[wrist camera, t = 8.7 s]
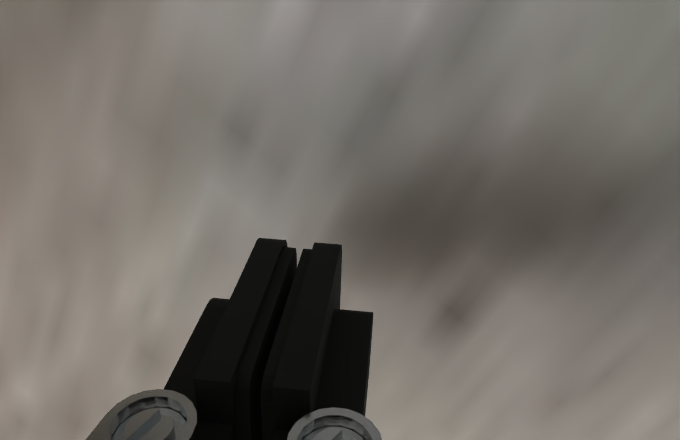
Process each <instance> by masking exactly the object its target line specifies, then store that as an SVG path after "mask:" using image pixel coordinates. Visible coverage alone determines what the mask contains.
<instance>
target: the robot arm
mask: <svg viewBox="0 0 680 440" xmlns="http://www.w3.org/2000/svg"><path fill="white" fill-rule="evenodd" d="M341 263H342V245H338V244H326V243H314V245H313V248H312V249H303V251H302V254H301V257H300V260H299V263H298V267H297V253H296V248H288V247H287V242H286V240H277V239H265V238H258V240H257V242H256V244H255V246H254V248H253V250H252V252H251V255H250V257H249V259H248V261H247V263H246V265H245V268H244V270H243V272H242V274H241V276H240V278H239V281H238V283H237V285H236V287H235V289H234V291H233V294H232V296H231V298H230V299H220V298H212V299H211V300H210V301H209V302H208V304H207V306H206V308H205V310H204V312H203V313H202V315H201V317H200V319H199V321H198V323H197V325H196V327H195V329H194V331H193V333H192V335H191V337H190V339H189V341H188V343H187V345H186V347H185V349H184V351H183V352H182V354H181V356H180V358H179V360H178V362H177V364H176V366H175V368H174V370H173V372H172V374H171V376H170V378H169V380H168V382H167V384H166V386H165V388H164V390H163V389H156V390H148V391H143V392H140V393H137V394H134V395H131V396H129V397H127V398H126V399H124V400H122V401H121V402H119V403H117V404H116V405H115V406H114V407H113V408H112V409H111V410H110V411H109V412H108V413H107V414H106V415H105V416H104V418H103V419H102V420H101V421H100V423H99V424H98V425H97V426H96V428H95V429H94V430H93V431H92V432H91V434H90V435H89V436H88V437H87V439H86V440H382V438H381V435H380V432H379V431H378V429H377V428H376V427H375V426H374V424H373V423H372V422H371V421H370V420H369V419H367V418H366V417H365V410H366V399H367V389H368V378H369V366H370V353H371V340H372V325H373V312H362V311H351V310H340V291H341Z"/></svg>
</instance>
